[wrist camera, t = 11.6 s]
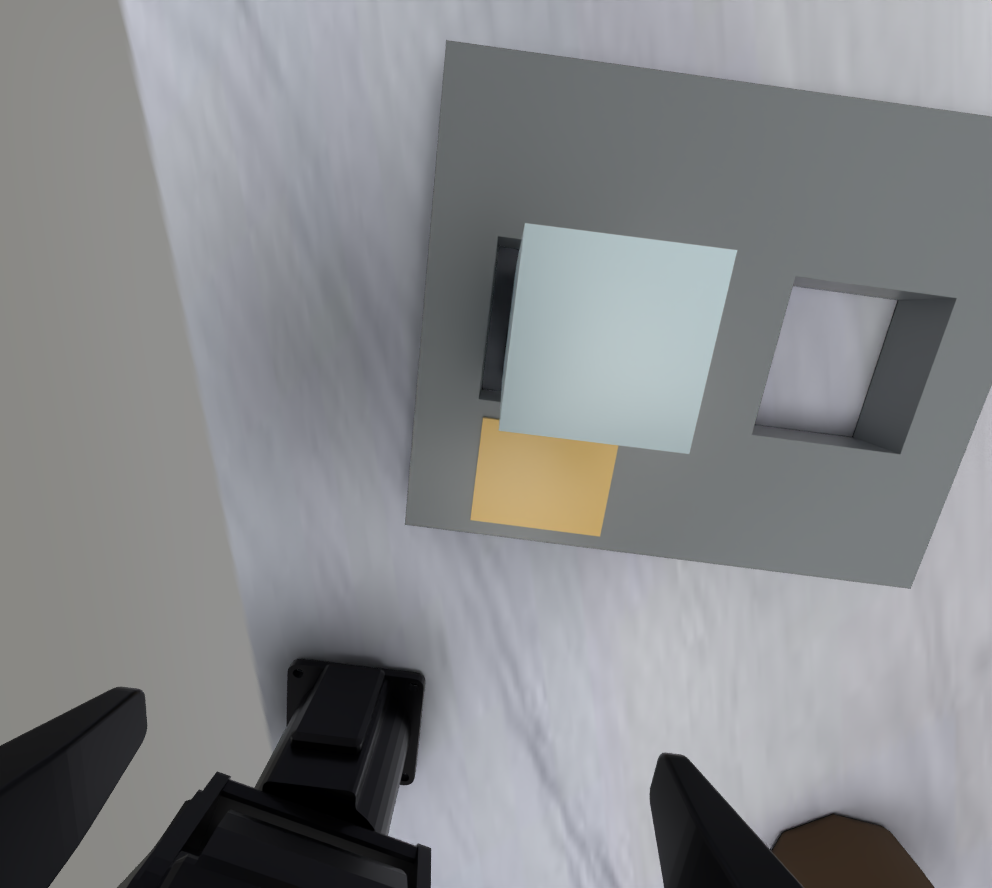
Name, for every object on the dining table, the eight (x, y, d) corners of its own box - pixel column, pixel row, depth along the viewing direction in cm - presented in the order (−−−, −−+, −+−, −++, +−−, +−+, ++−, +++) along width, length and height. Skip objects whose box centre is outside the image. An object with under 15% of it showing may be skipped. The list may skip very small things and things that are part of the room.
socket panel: (864, 557, 21) (914, 591, 19) (416, 500, 21) (403, 526, 19) (1010, 156, 17) (1100, 128, 15) (454, 79, 17) (445, 36, 14)
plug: (599, 385, 20) (689, 454, 10) (502, 373, 20) (498, 430, 10) (618, 283, 19) (737, 250, 9) (515, 270, 19) (525, 222, 9)
